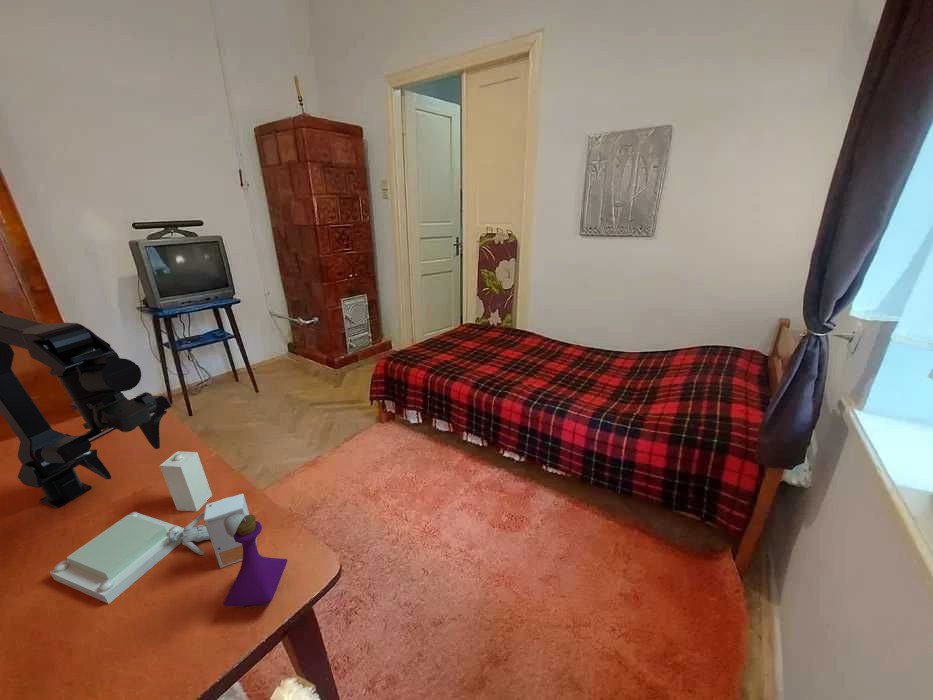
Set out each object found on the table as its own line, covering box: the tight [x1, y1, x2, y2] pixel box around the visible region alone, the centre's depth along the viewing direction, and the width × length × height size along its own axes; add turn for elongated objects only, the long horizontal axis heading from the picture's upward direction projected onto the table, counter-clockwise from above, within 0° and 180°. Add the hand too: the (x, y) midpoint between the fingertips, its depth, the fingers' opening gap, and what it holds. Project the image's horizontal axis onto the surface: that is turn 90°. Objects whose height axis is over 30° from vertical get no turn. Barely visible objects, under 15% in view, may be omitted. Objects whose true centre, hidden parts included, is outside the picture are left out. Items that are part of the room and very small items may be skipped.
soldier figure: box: [169, 510, 210, 556], centre depth 73 cm, size 8×5×12 cm
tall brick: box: [159, 451, 213, 512], centre depth 80 cm, size 5×5×13 cm
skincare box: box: [203, 493, 250, 569], centre depth 69 cm, size 6×4×12 cm
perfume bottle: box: [222, 513, 288, 608], centre depth 61 cm, size 8×8×18 cm
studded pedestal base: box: [49, 511, 185, 605], centre depth 70 cm, size 14×14×4 cm
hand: (134, 462), depth 74 cm, fingers open, 9 cm apart
